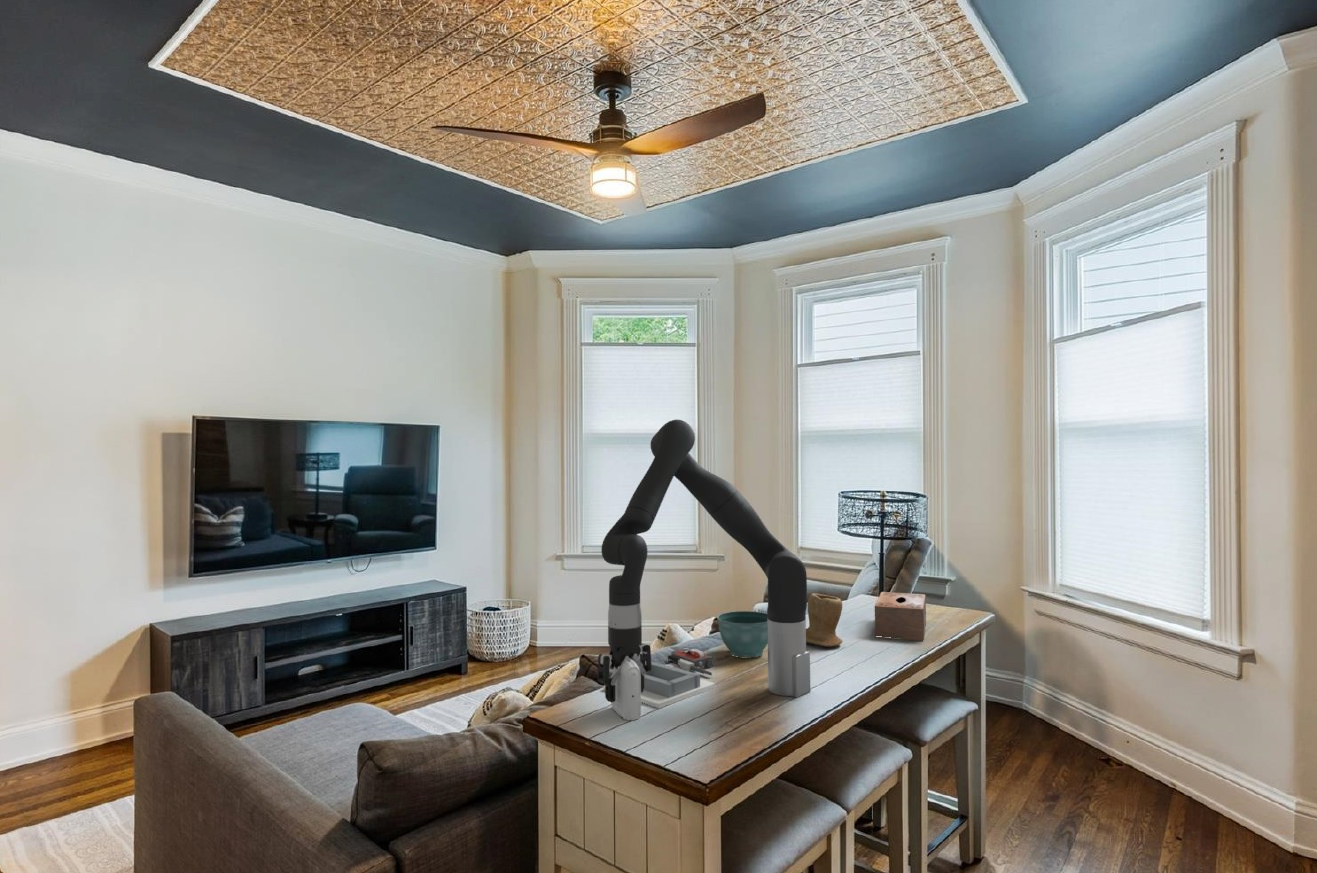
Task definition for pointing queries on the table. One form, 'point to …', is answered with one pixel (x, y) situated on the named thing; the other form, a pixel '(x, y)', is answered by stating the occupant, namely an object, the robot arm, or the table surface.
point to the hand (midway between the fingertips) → (625, 696)
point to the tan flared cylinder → (823, 620)
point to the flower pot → (744, 632)
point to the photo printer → (628, 691)
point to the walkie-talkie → (692, 660)
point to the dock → (677, 698)
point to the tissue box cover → (900, 615)
